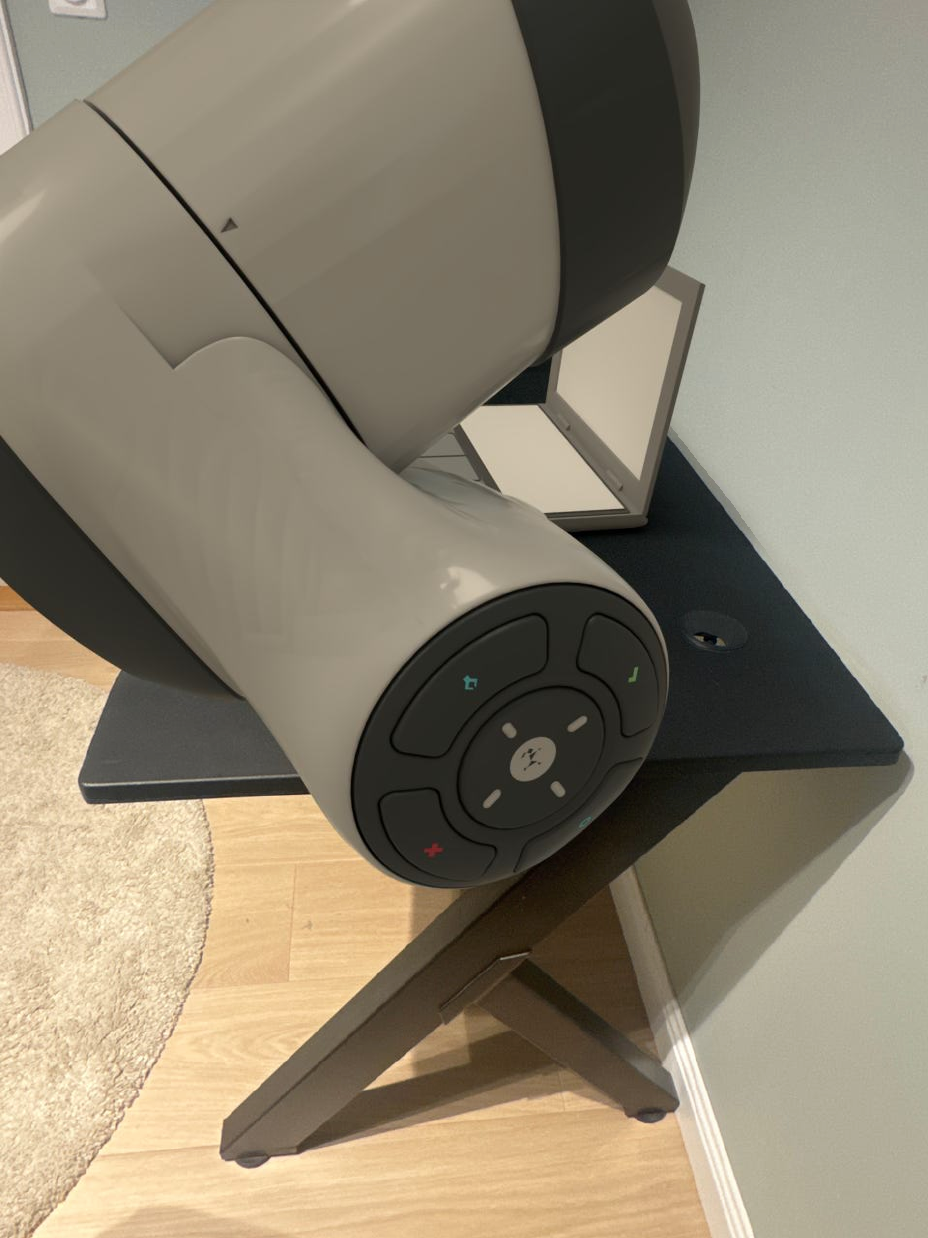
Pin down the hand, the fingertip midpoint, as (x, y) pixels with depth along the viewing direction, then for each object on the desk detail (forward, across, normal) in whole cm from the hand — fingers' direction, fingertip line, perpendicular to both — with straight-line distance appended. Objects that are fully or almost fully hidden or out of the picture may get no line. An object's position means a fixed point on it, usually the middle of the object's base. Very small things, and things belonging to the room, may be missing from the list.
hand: (302, 501), depth 41 cm
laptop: (+53, -34, +3) cm, 63 cm away
